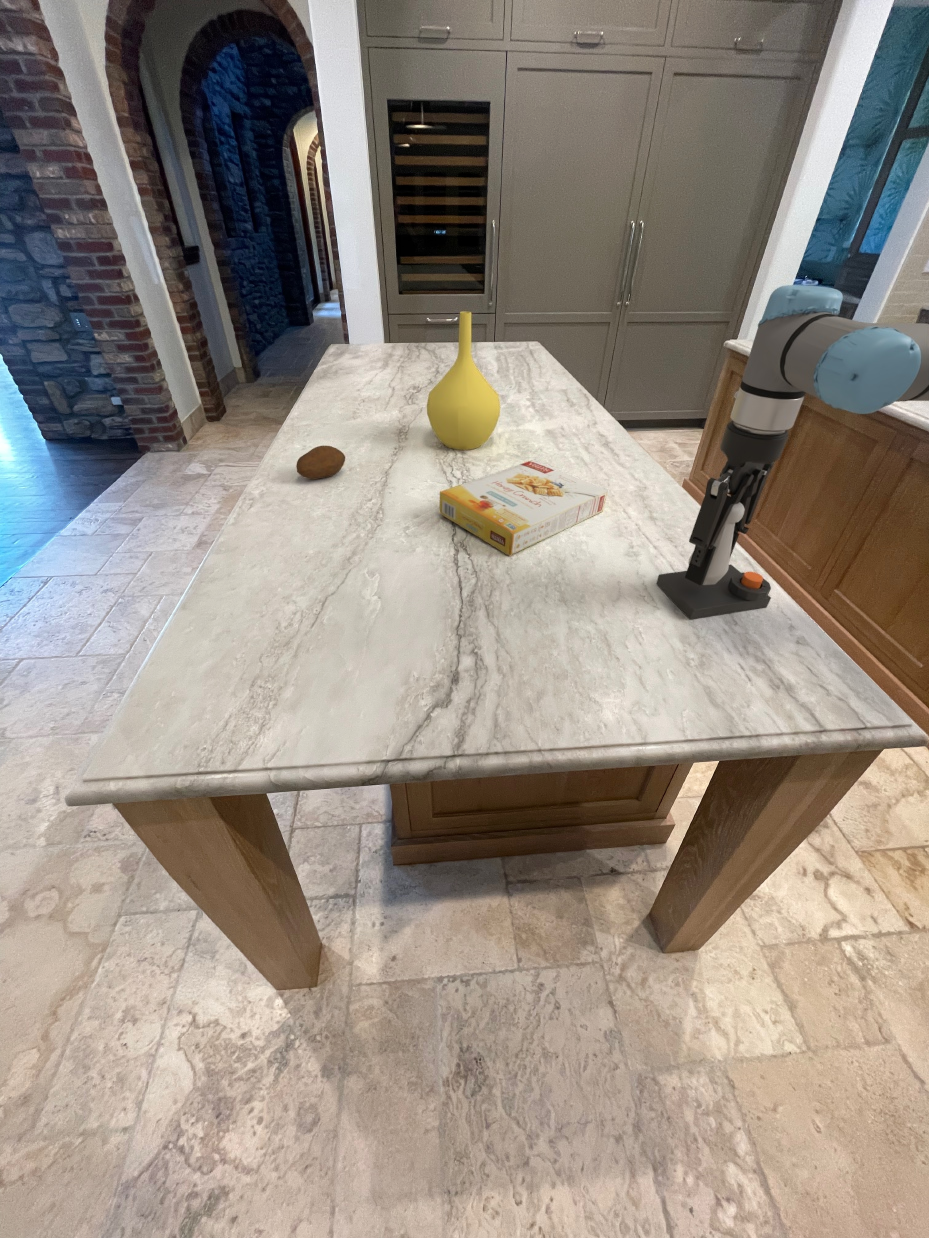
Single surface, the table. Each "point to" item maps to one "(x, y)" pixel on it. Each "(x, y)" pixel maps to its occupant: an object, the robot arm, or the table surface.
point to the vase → (463, 399)
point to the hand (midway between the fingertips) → (705, 573)
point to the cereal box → (521, 504)
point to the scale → (713, 594)
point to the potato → (320, 462)
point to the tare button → (752, 580)
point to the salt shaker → (723, 547)
